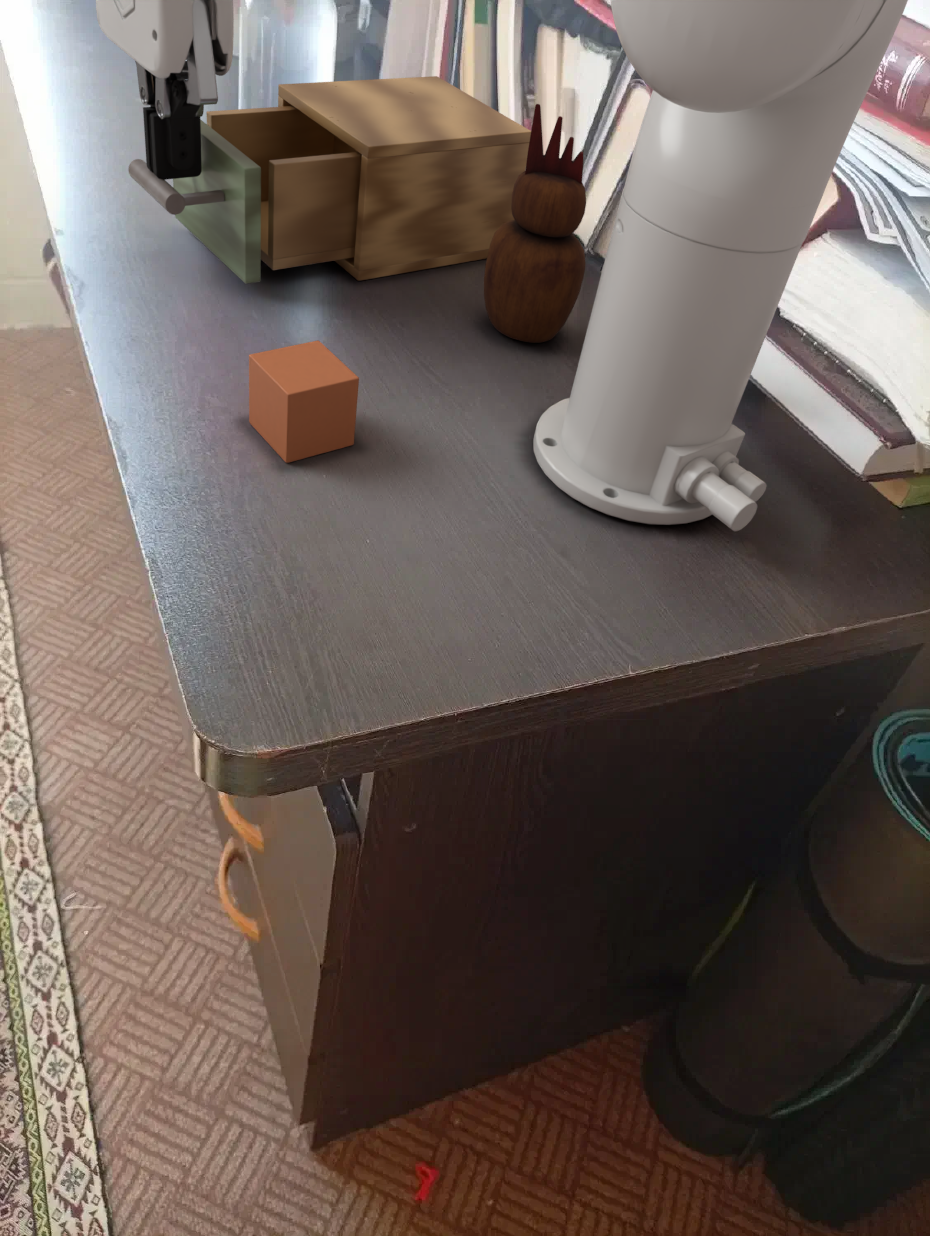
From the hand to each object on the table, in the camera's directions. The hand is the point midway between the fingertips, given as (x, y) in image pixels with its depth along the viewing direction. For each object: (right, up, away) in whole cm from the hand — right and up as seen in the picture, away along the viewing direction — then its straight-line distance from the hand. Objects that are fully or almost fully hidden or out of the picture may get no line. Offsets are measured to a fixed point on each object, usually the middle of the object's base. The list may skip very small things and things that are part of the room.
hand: (174, 172), depth 66 cm
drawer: (+5, -2, +7) cm, 9 cm away
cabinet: (+14, +1, +14) cm, 19 cm away
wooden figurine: (+24, -9, +5) cm, 26 cm away
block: (+10, -19, -9) cm, 23 cm away
